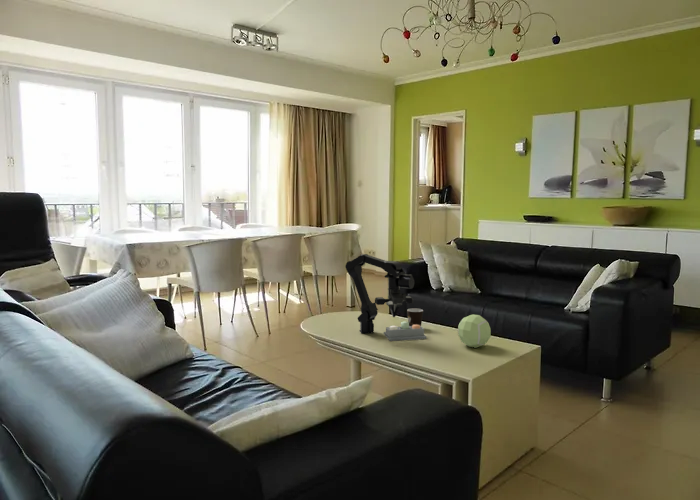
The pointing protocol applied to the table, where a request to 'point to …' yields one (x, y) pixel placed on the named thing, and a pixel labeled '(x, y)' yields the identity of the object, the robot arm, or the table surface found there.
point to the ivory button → (393, 327)
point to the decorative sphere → (474, 331)
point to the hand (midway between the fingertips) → (393, 317)
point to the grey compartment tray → (405, 334)
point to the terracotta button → (416, 326)
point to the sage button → (404, 325)
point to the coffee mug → (414, 316)
